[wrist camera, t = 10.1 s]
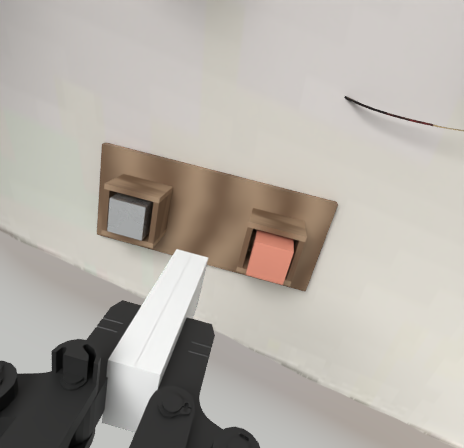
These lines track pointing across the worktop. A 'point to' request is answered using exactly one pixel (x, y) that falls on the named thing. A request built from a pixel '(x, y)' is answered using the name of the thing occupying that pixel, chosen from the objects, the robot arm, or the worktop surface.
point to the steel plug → (129, 216)
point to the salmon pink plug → (270, 257)
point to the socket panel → (213, 211)
